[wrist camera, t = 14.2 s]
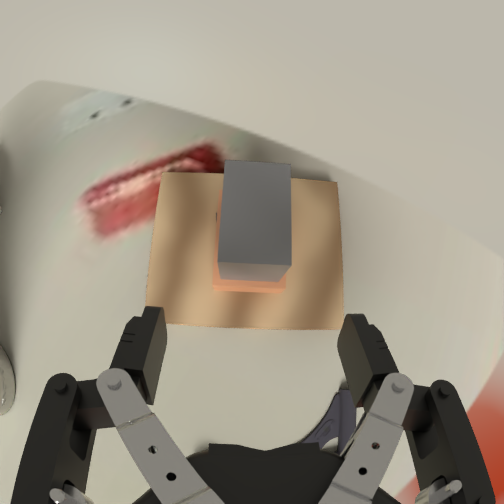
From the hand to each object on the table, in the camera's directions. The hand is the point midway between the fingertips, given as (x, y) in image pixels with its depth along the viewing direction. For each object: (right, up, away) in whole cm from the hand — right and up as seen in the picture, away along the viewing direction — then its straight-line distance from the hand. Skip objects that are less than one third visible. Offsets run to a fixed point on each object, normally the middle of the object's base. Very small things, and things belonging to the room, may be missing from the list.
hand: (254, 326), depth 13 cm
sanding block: (0, +4, +14) cm, 14 cm away
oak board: (-1, +3, +15) cm, 16 cm away
